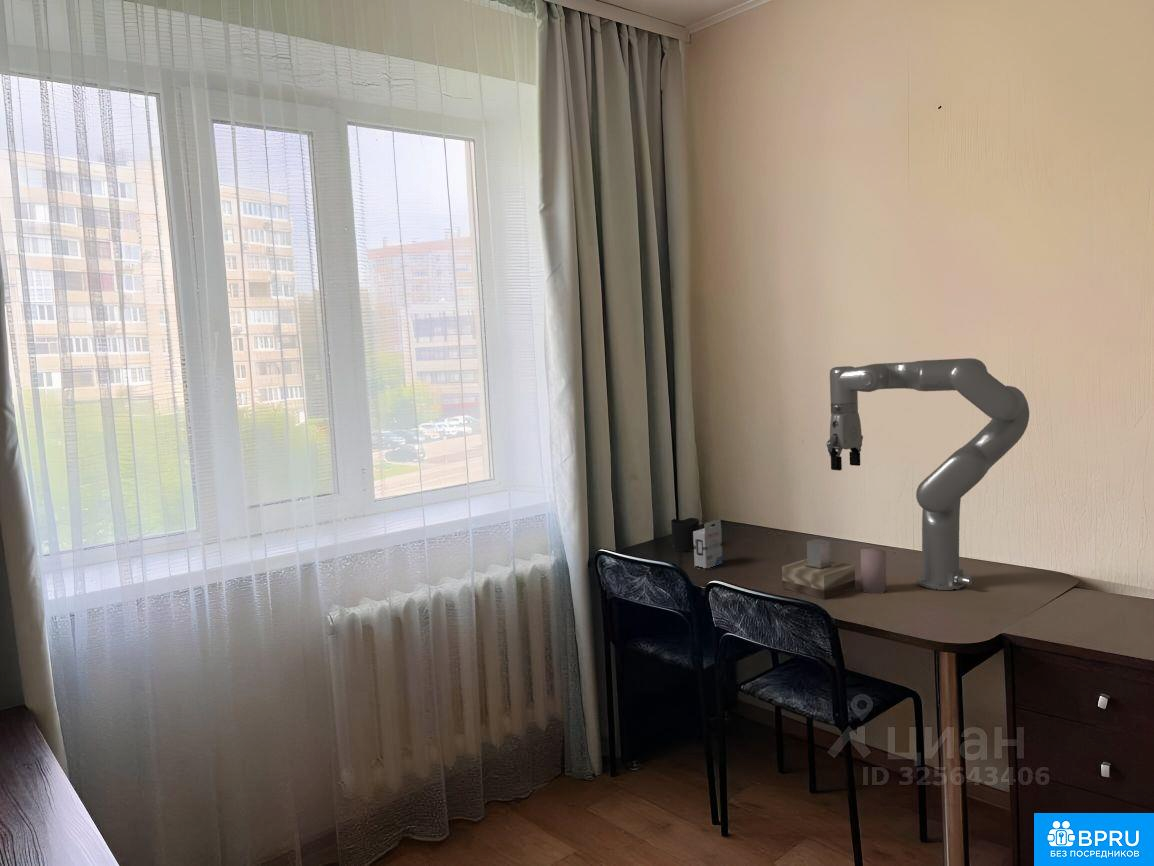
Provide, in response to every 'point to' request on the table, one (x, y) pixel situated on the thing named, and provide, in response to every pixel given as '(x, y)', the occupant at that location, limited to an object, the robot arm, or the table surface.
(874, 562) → the round peg
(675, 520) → the pen holder
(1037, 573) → the table surface
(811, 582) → the bore block
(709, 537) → the ink box
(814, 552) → the square peg
